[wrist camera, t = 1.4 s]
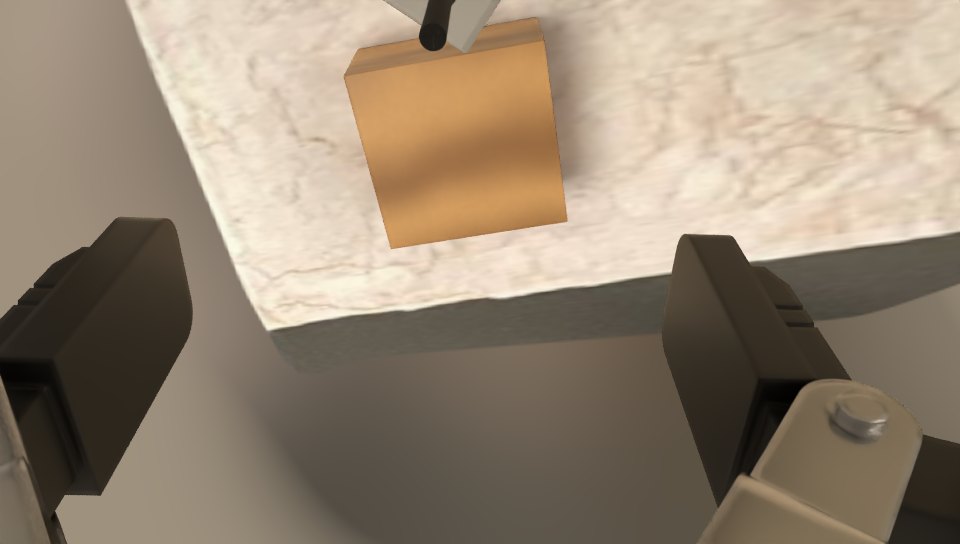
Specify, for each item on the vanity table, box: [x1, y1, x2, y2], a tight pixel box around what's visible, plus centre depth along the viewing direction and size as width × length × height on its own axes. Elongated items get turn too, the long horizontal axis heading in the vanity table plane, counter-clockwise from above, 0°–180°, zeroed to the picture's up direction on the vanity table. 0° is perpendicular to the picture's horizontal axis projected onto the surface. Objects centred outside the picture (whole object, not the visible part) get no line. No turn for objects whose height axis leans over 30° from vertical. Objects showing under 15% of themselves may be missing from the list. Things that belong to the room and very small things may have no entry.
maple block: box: [344, 17, 567, 249], centre depth 41 cm, size 10×10×5 cm
